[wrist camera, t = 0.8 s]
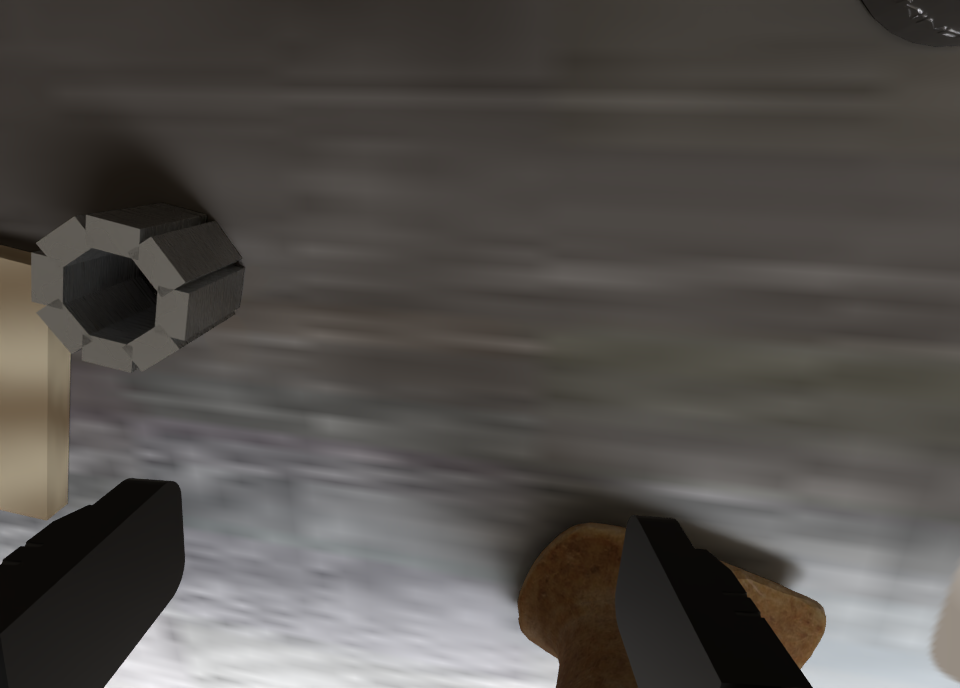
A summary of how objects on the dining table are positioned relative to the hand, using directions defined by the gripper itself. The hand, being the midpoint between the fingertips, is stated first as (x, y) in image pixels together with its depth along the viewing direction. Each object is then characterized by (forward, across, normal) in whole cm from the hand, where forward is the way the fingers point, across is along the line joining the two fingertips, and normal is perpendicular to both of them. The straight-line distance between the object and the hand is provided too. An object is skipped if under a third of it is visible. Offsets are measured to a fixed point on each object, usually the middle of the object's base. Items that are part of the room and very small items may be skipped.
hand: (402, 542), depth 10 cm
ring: (+18, +13, -2) cm, 22 cm away
